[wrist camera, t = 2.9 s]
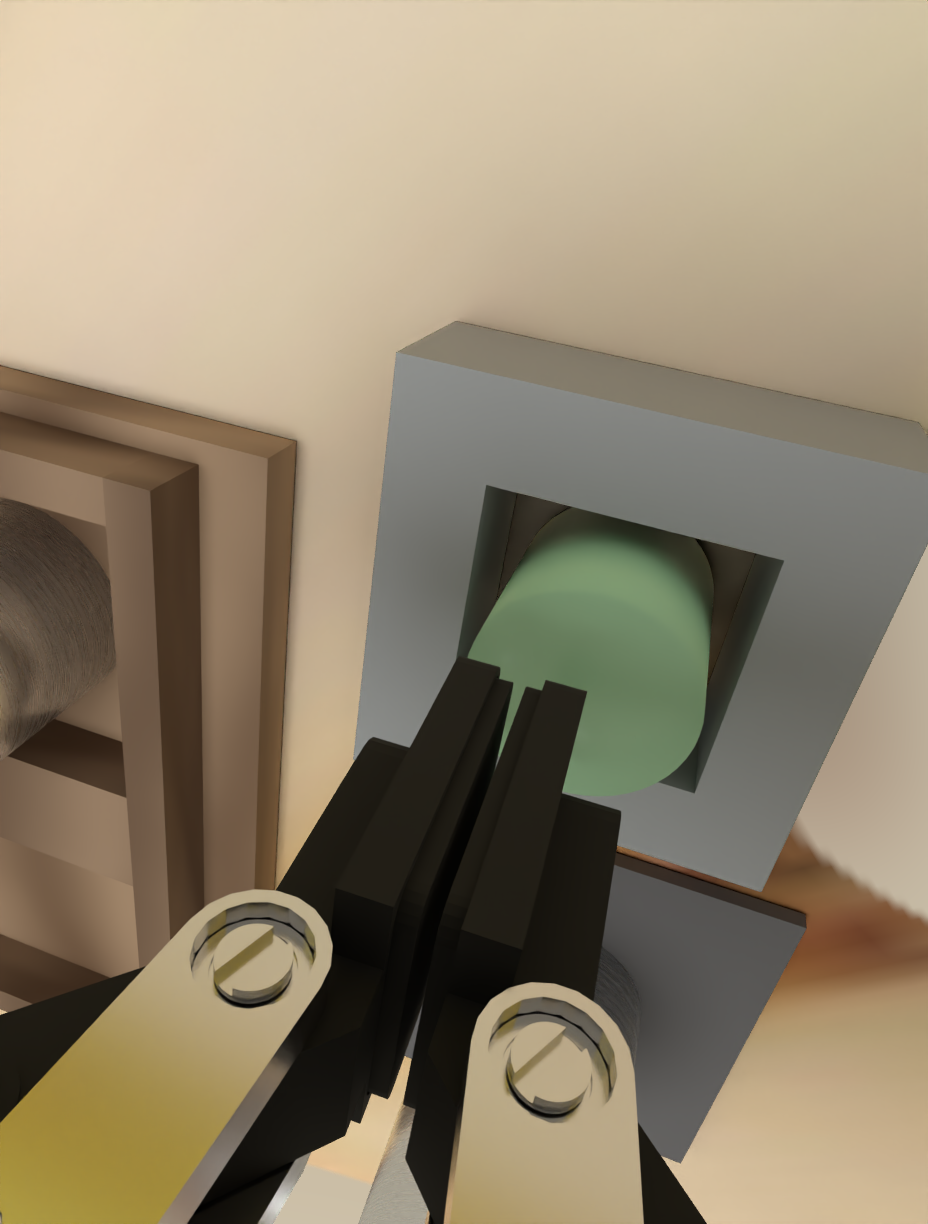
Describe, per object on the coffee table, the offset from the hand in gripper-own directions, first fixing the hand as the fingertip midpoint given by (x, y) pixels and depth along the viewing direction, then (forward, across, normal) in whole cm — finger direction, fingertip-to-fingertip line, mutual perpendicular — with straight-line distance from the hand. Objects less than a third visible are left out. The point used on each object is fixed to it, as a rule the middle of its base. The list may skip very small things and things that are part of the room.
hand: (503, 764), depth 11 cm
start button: (+7, -1, 0) cm, 7 cm away
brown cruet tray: (+7, +12, +9) cm, 17 cm away
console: (+7, -1, 0) cm, 7 cm away
